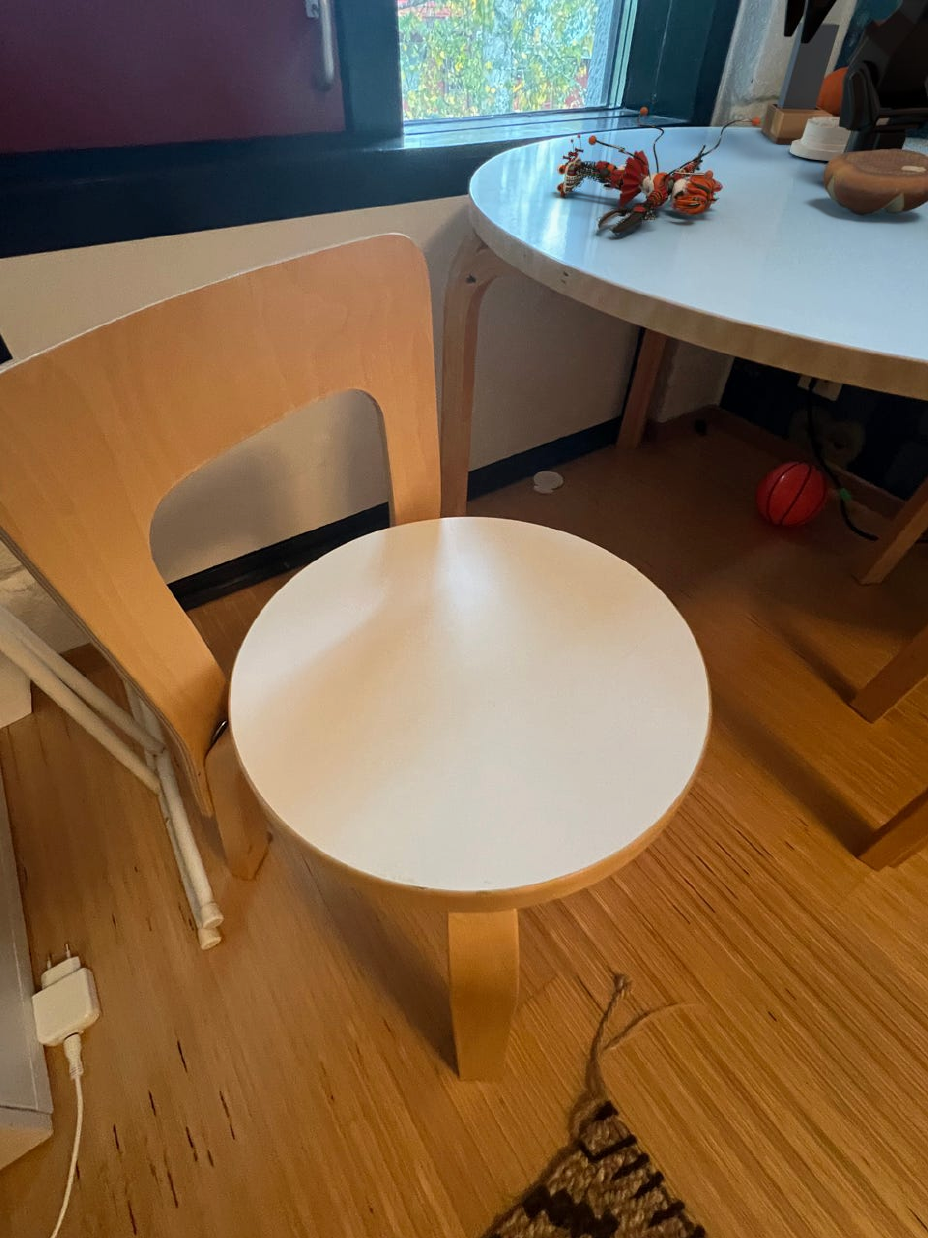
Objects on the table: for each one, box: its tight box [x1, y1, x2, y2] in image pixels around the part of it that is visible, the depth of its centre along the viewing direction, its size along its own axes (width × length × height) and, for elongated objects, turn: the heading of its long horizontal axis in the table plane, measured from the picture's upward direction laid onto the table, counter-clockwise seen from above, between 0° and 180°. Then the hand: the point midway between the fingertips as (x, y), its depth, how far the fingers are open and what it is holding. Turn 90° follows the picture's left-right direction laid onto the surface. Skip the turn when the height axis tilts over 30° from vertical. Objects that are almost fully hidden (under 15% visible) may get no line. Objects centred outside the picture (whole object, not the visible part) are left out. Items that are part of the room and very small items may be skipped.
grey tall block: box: [776, 22, 841, 110], centre depth 107 cm, size 4×5×13 cm
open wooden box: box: [760, 102, 833, 145], centre depth 109 cm, size 11×7×4 cm
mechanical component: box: [789, 117, 851, 162], centre depth 98 cm, size 10×4×10 cm
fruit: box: [816, 65, 849, 117], centre depth 118 cm, size 9×9×8 cm
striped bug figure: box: [556, 106, 761, 236], centre depth 74 cm, size 25×9×20 cm
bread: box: [822, 148, 928, 216], centre depth 76 cm, size 11×11×5 cm
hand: (795, 39), depth 89 cm, fingers open, 9 cm apart
